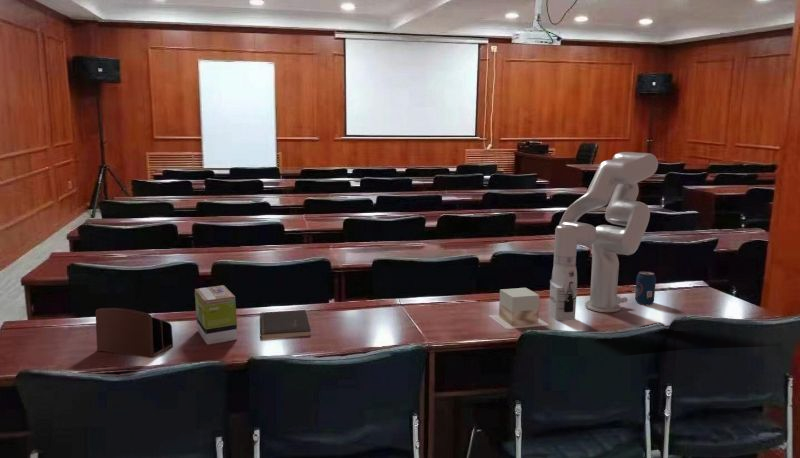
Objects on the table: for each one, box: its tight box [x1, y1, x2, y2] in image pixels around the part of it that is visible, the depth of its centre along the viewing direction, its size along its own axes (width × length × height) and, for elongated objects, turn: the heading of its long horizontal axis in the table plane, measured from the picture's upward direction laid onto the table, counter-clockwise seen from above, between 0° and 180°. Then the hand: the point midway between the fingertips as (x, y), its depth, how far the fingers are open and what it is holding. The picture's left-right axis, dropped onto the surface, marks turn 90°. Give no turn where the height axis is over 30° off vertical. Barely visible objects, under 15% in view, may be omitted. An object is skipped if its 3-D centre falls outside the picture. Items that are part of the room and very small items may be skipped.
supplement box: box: [548, 282, 577, 321], centre depth 219 cm, size 7×7×13 cm
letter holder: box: [95, 307, 174, 359], centre depth 187 cm, size 10×20×14 cm, turn 74°
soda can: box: [634, 270, 657, 305], centre depth 239 cm, size 7×7×12 cm
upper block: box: [499, 287, 540, 312], centre depth 214 cm, size 10×10×5 cm
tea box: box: [194, 284, 238, 345], centre depth 199 cm, size 15×10×15 cm
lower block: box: [498, 303, 540, 326], centre depth 214 cm, size 10×10×5 cm
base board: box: [488, 314, 550, 330], centre depth 215 cm, size 16×15×1 cm
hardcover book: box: [259, 309, 312, 340], centre depth 210 cm, size 16×23×2 cm
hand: (562, 308), depth 219 cm, fingers closed on supplement box, 8 cm apart
